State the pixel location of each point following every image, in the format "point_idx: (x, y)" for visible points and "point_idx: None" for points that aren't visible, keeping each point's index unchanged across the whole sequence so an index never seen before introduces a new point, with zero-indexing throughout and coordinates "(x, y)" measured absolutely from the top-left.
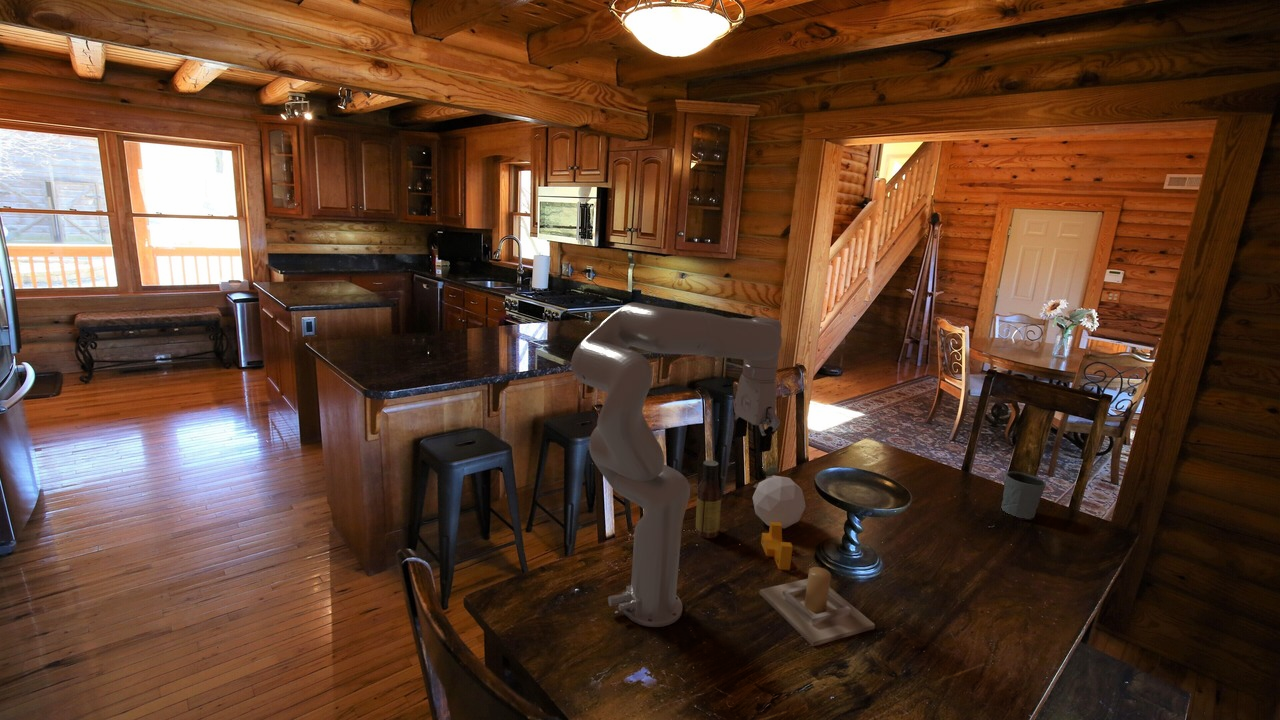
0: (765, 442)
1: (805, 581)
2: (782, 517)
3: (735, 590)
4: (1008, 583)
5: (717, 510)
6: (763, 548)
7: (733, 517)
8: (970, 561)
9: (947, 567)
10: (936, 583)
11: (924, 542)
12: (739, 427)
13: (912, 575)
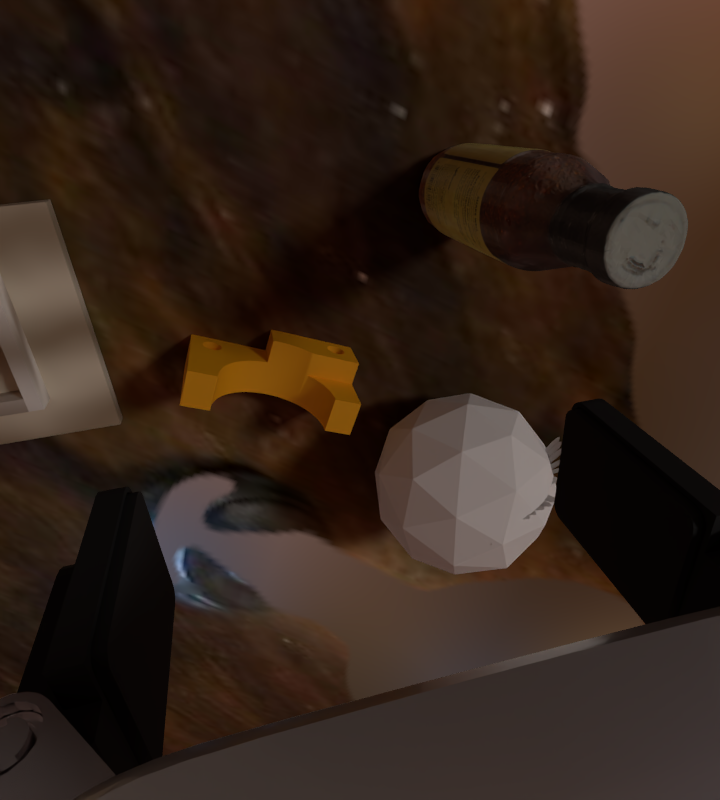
0: (44, 638)
1: (93, 379)
2: (384, 455)
3: (73, 114)
4: None
5: (461, 226)
6: (315, 341)
7: (516, 330)
8: None
9: None
10: None
11: (267, 712)
12: (632, 502)
13: None
